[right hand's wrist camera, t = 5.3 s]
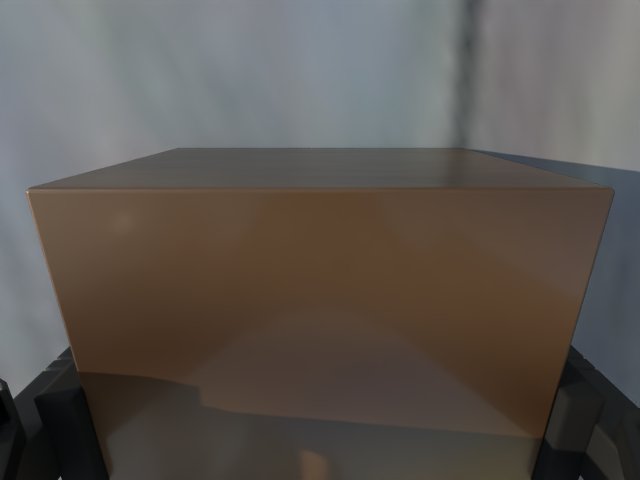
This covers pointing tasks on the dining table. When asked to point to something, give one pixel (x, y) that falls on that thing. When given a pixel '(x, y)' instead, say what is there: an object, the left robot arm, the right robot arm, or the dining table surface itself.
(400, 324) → the thick board
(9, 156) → the dining table surface
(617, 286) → the dining table surface
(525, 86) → the dining table surface
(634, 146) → the dining table surface
